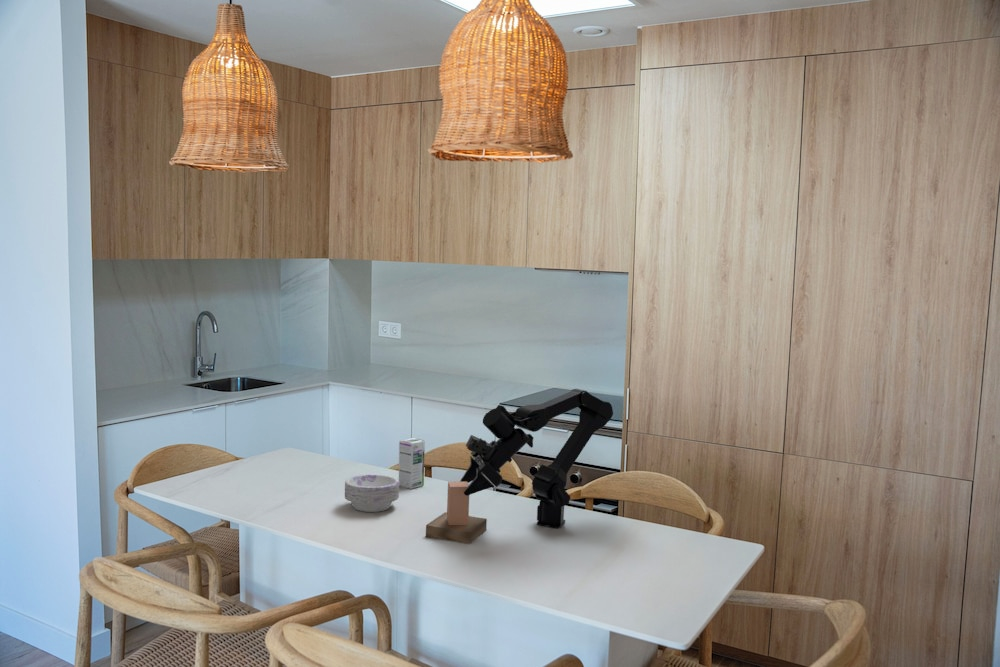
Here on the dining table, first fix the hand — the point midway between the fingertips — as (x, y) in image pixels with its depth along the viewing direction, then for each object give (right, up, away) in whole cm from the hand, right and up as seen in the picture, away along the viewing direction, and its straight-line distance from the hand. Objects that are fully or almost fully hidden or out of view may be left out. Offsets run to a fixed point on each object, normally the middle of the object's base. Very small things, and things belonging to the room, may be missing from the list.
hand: (462, 489), depth 211 cm
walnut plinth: (-2, -12, +1) cm, 12 cm away
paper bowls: (-27, -9, +19) cm, 34 cm away
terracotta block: (-1, -9, +1) cm, 9 cm away
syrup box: (-18, -7, +43) cm, 47 cm away
